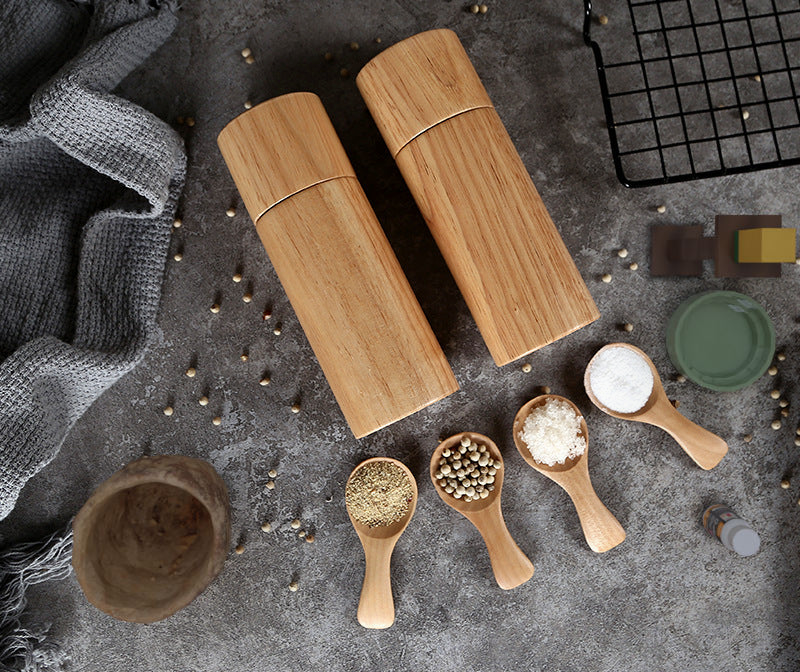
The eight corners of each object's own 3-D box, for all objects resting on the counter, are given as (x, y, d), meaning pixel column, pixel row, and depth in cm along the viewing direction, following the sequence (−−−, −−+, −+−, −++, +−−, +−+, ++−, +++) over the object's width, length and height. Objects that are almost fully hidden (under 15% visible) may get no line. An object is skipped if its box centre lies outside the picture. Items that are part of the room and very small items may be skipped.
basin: (761, 290, 116) (776, 291, 112) (760, 386, 117) (775, 391, 112) (664, 290, 116) (675, 290, 112) (664, 386, 117) (674, 391, 112)
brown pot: (261, 547, 117) (223, 624, 92) (139, 554, 117) (68, 632, 92) (254, 425, 117) (215, 468, 92) (132, 431, 117) (59, 476, 92)
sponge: (765, 231, 91) (796, 228, 84) (765, 262, 91) (795, 262, 84) (734, 231, 91) (761, 228, 84) (734, 262, 91) (761, 262, 84)
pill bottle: (697, 509, 117) (724, 531, 107) (726, 499, 117) (757, 520, 107) (707, 538, 117) (735, 564, 107) (736, 528, 117) (768, 552, 107)
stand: (699, 225, 116) (782, 214, 91) (699, 275, 116) (781, 277, 91) (650, 225, 116) (719, 214, 91) (650, 275, 116) (718, 277, 91)
